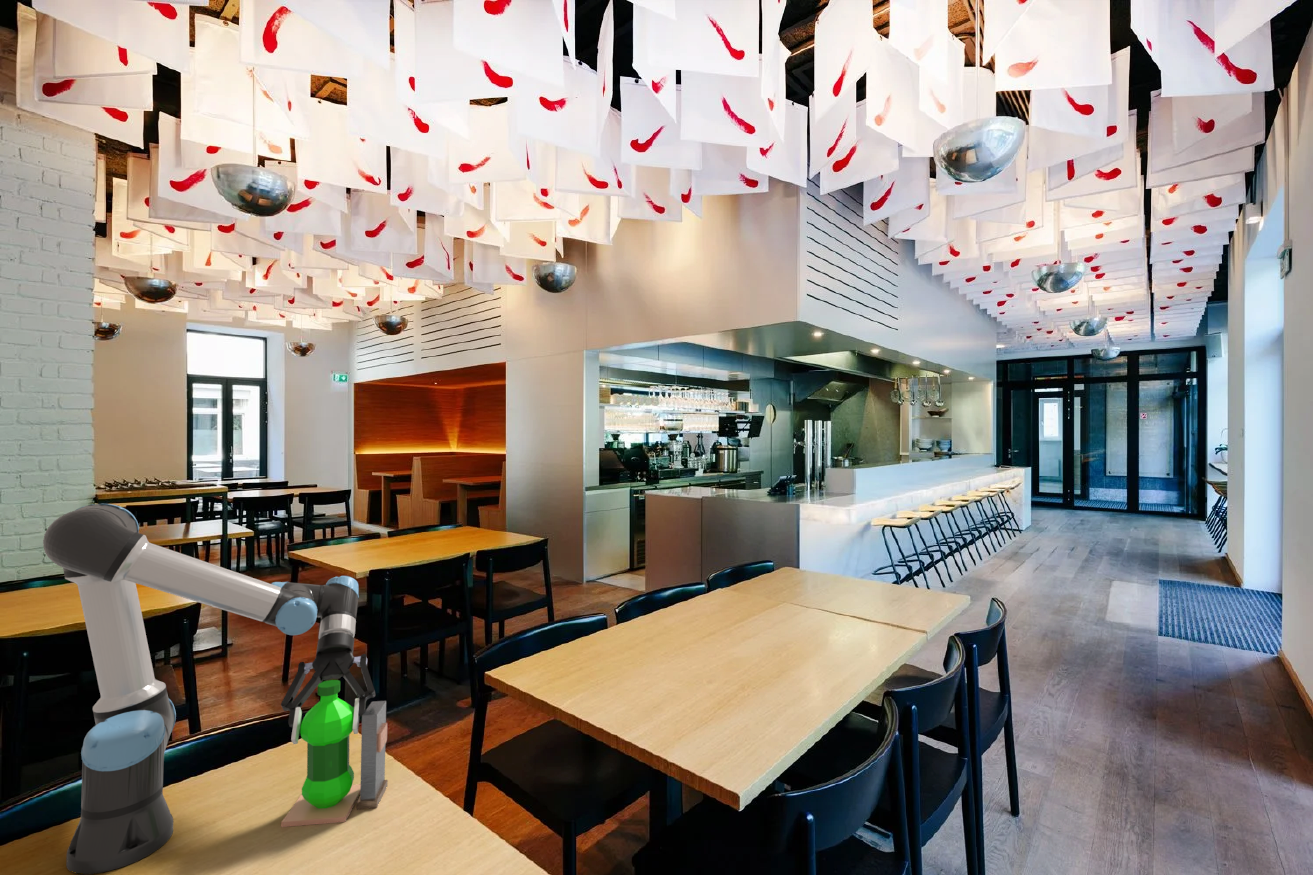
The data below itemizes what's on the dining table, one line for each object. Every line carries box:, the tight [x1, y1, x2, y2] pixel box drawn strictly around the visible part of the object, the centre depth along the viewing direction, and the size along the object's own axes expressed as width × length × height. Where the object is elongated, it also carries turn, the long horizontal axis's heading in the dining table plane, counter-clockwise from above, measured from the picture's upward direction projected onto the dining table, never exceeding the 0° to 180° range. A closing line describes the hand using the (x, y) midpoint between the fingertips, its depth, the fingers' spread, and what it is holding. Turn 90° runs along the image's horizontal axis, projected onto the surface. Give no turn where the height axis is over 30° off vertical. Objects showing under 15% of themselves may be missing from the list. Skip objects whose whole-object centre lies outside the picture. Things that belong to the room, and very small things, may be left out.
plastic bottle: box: [299, 679, 355, 808], centre depth 127 cm, size 10×10×25 cm
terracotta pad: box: [280, 783, 361, 828], centre depth 127 cm, size 12×12×1 cm
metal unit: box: [356, 700, 389, 810], centre depth 131 cm, size 4×8×20 cm, turn 10°
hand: (325, 736), depth 125 cm, fingers open, 11 cm apart
